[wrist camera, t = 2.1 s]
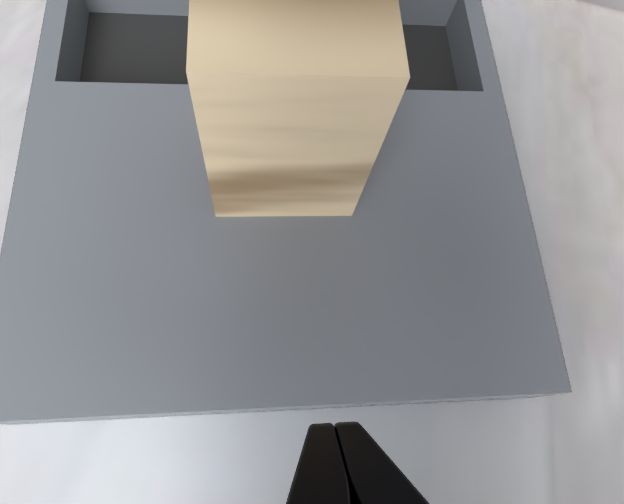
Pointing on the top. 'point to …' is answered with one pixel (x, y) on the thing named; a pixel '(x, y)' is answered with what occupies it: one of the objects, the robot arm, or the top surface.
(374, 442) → the robot arm
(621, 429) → the top surface
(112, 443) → the top surface
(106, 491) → the top surface
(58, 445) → the top surface
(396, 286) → the board
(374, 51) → the maple block
